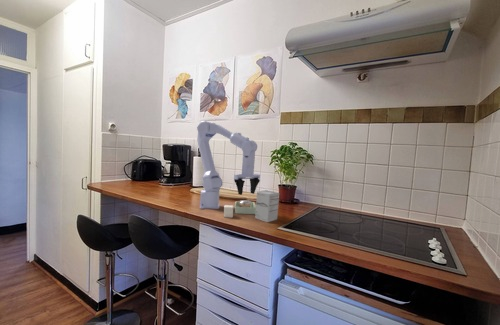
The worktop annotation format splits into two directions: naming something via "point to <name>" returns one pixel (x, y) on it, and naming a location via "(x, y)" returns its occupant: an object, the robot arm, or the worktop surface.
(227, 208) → the cream carton
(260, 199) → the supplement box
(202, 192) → the robot arm
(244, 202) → the steel tin
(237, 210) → the sage tote
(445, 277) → the worktop surface
